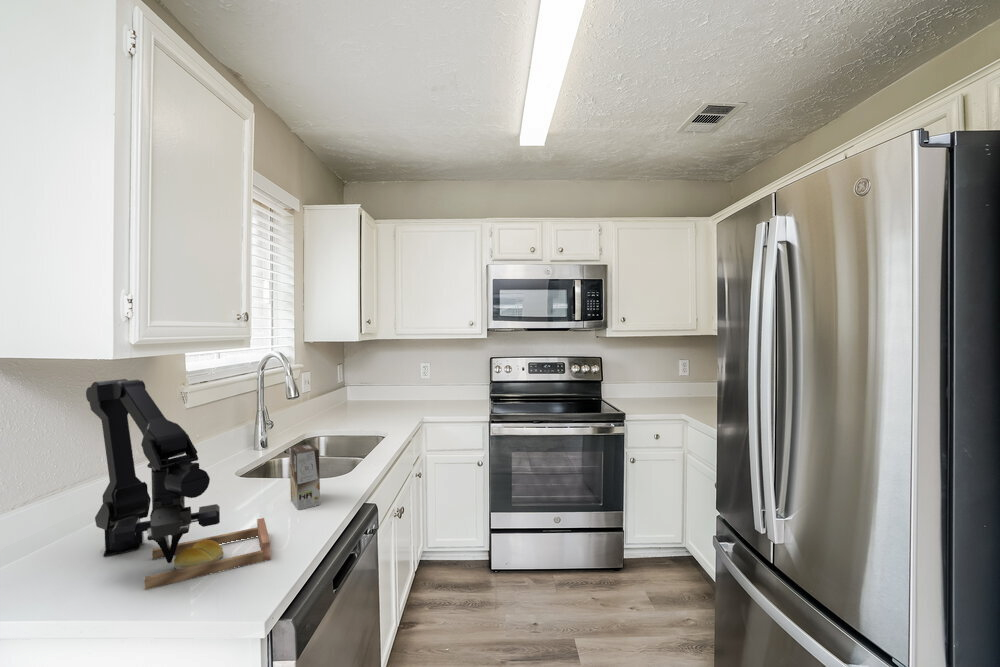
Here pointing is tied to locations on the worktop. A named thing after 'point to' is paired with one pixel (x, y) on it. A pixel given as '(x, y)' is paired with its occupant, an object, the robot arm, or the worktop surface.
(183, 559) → the bread roll
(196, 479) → the robot arm
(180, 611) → the worktop surface
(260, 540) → the guide channel
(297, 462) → the coffee box
